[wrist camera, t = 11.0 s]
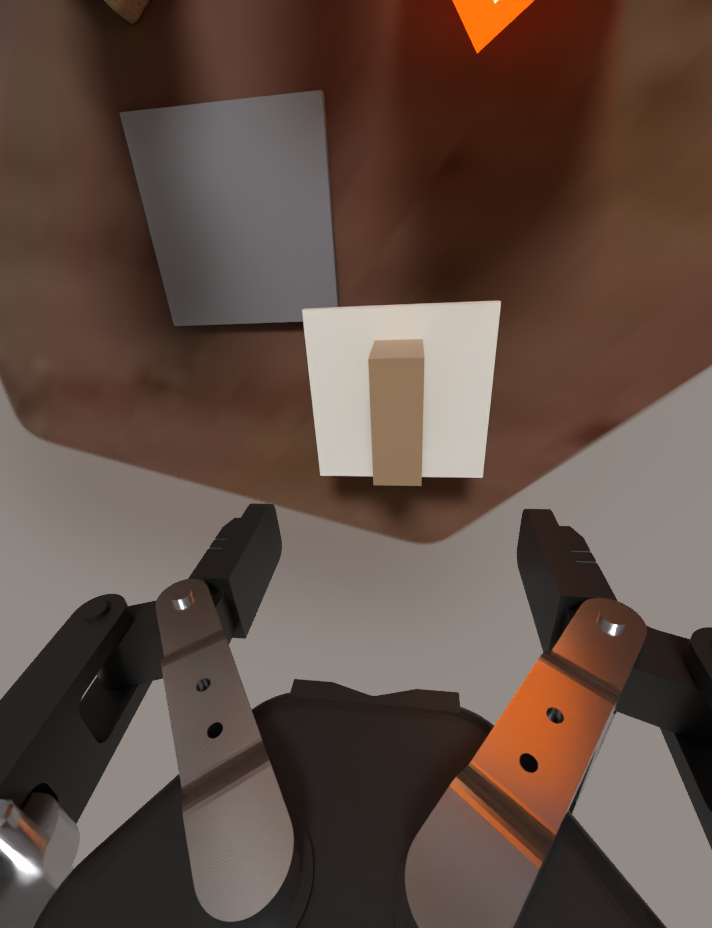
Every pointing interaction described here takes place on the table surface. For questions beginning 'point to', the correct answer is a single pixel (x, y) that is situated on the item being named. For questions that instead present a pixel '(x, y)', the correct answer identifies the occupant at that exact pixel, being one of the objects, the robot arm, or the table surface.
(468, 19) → the orange juice
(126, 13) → the candle holder
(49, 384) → the table surface
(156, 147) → the mat
